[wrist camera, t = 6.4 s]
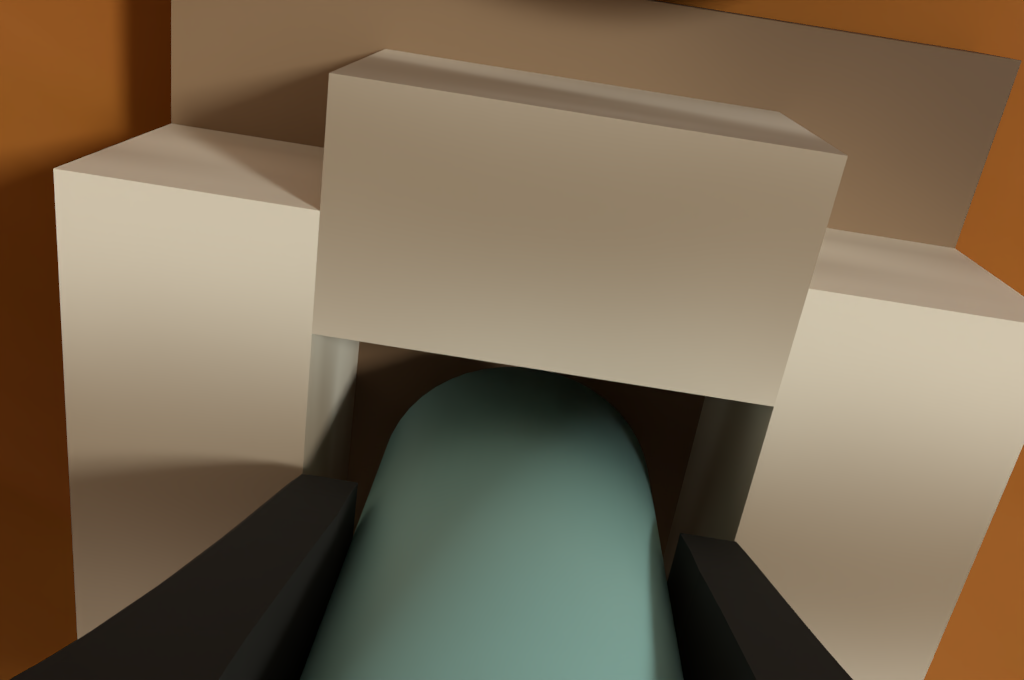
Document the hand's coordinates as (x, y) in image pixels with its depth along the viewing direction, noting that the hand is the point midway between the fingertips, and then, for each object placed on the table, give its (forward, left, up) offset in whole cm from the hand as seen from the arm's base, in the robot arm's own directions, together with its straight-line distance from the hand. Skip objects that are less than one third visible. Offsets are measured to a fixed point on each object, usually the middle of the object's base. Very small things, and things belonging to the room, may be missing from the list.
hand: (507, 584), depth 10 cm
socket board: (0, 0, -4) cm, 4 cm away
